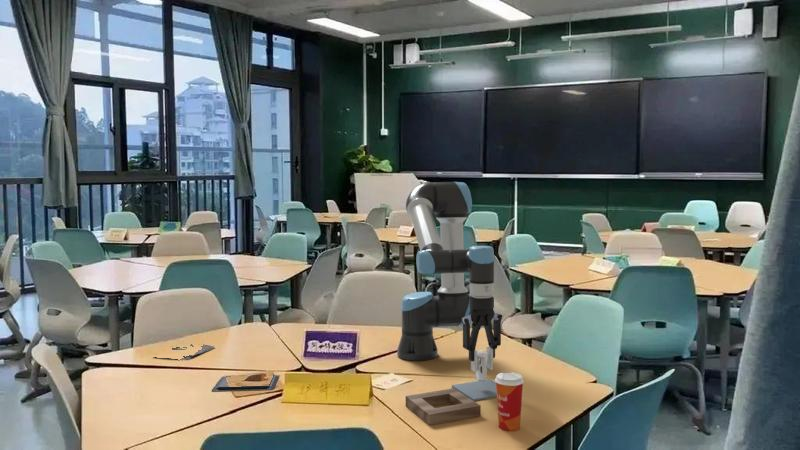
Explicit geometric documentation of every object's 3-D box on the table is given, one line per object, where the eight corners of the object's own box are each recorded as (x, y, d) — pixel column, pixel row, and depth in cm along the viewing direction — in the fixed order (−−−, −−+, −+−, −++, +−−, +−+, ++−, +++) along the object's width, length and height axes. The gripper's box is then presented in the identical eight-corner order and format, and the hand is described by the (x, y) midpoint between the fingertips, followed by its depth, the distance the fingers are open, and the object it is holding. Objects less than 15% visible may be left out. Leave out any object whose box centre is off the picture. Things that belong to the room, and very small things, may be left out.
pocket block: (405, 405, 188) (405, 395, 187) (453, 397, 194) (453, 388, 194) (429, 425, 173) (429, 414, 173) (480, 415, 179) (480, 405, 179)
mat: (451, 386, 204) (451, 385, 204) (489, 380, 209) (489, 379, 209) (473, 401, 191) (473, 399, 191) (513, 394, 196) (513, 392, 196)
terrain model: (186, 363, 236) (185, 354, 236) (153, 359, 241) (152, 351, 241) (219, 348, 255) (218, 340, 255) (187, 345, 260) (187, 338, 260)
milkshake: (490, 382, 197) (490, 350, 196) (472, 381, 198) (473, 349, 197) (491, 378, 201) (491, 346, 201) (474, 376, 202) (474, 345, 202)
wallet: (209, 388, 202) (222, 373, 217) (210, 393, 202) (222, 378, 217) (273, 386, 202) (281, 371, 218) (273, 392, 203) (281, 377, 218)
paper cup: (491, 422, 175) (491, 372, 174) (519, 420, 175) (519, 370, 174) (498, 433, 167) (498, 381, 166) (527, 432, 168) (527, 380, 167)
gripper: (462, 300, 191) (462, 376, 192) (513, 295, 198) (513, 369, 200) (450, 296, 198) (450, 370, 199) (500, 291, 205) (500, 362, 206)
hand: (482, 369), depth 199 cm, fingers closed on milkshake, 5 cm apart
